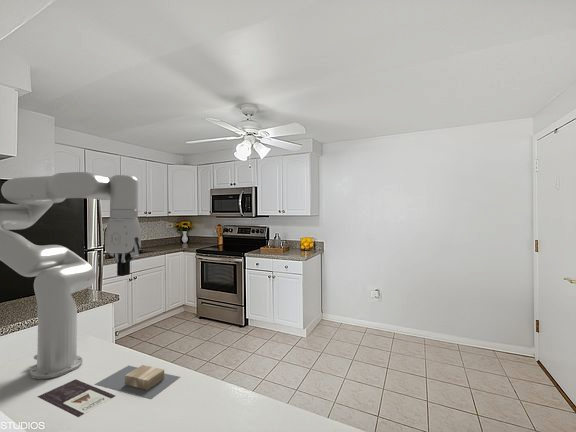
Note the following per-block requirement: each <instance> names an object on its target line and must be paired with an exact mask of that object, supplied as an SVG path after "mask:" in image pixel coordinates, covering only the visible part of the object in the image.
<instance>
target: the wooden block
mask: <svg viewBox="0 0 576 432" xmlns="http://www.w3.org/2000/svg"><path fill="white" fill-rule="evenodd" d="M137 367H138V366H137ZM164 373H165V369H163V368H158V367H155V366H154V367H153V366H150V365H145V364H142V365H140V366H139V367H138V368H137V369H135V370H133V371H132V372H130V373H128V374H126V375H125V385H129V386H133V387H137V388H141V389H145V390H148V389H150V388H151V387H153V386H154V385H156V384H157V383H158V382H160V381H161V380H163V379H164Z"/></svg>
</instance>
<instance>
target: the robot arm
mask: <svg viewBox="0 0 576 432" xmlns="http://www.w3.org/2000/svg"><path fill="white" fill-rule="evenodd" d="M0 188H1V189H0V191H1V194H2V196H3V198H4V199H6V200H7V201H9V202H11V203H0V262H3V263H4V264H5V265H6V266H8V267H9V268H11V269H12V270H13V271H15V272H16V273H17V274H18V275H20V276H23V277H25V278H26V277H27V278H32V277H33V278H34V277H35V278H34V282H33V290H34V294H35V298H36V304H37V354H35V355H34V356H33V360H35V361H36V365H35V366H34V367H32V369H30V373H29V375H30V377H31V378H32V379H36V380H45V379H51V378H52V379H53V378H57V377H60V376H63V375H66V374H68V373H72V372H73V371H75V370H77V369H78V368H79V367H80V366H82V364H83V358H82V356H80V355H77V353H78V352H77V350H78V349H77V348H78V346H77V343H78V342H77V340H78V339H77V336H78V311H77V310H78V308H77V303H76V301H75V299H74V298H73V295H72V294H74V293H76V292H80V291H83V290H86V289H88V288H90V287H92V285H93V284H94V283H95V281H96V277H97V273H96V270H95V269H94V267H93V266H92V265H91V264H90V263H89V262H88V261H86V260H85V259H83V257H80V256H79V255H78V254H77V253H75V252H74V251H72V250H70V249H69V248H68V247H66V246H63V245H60V244H47V245H38V244H34V243H33V242H31V241H30V240H28V239H26V238H25V237H24V236H23V235H21V234H19V233H17V232H14V231H12V230H25V229H28V228H30V227H32V226H34V224H36V222H38V220H39V219H40V218H42V216H44V215H45V213H46V212H47V211H48V210H49V209H50V208H51V207H52V206H53V205H54V204H59V203H62V202H64V201H65V200H66V199H93V200H100V201H109V220H108V221H107V224H106V228H105V237H104V239H105V240H104V249H105V252H107V253H109V256H110V257H113V258H114V259H115V260H114V261H115V263H116V276H117V277H125V276H129V275H130V274H131V262H132V261H133V259H134V258H135V257H139V255H140V250H141V248H142V247H141V246H142V245H141V244H142V237H141V235H142V234H141V227H140V221H139V217H138V216H139V205H138V204H139V181H138V178H136V176H134V175H133V176H132V175H125V174H114V175H112V176H111V177H110V176H106V175H101V174H96V173H92V172H89V171H88V172H86V171H72V172H69V171H68V172H59V173H55V174H53V175H47V176H46V175H45V176H26V177H25V176H24V177H14V178H11V179H8V180H7V181H5V182H4V183H3V184H2V185H1V187H0ZM12 203H13V204H12Z"/></svg>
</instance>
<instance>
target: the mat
mask: <svg viewBox="0 0 576 432" xmlns="http://www.w3.org/2000/svg"><path fill="white" fill-rule="evenodd" d="M137 368H138V366H132V365H129V364H128V365H127V366H125V367H123V368H121V369H120V370H119V369H118V371H116V372H114V373H112V374H111V375H109V376H107V377H106V378H103V379H101V380H99V381H98V382H96V383H94V385H95V386H99V387H103V388H107V389H111V390H115V391H118V392H120V393H121V392H122V393H126V394H128V395H129V394H130V395H134V396H138V397H141V398H146V399H147V400H153V398H156V396H158V395H159V394H160V393H161V392H163V391H164V390H165V389H168V387H170V386H171V385H173V383H175V382H177V380H179V379H180V378H181V376H178V375H173V374H168V373H165V372H164V379H163V380H161V381H160V382H158V383H157V384H156V385H154V386H153V387H151V388H150V389H148V390H145V389H141V388H137V387H133V386H129V385H125V375H126V374H128V373H130V372H132V371H133V370H135V369H137Z"/></svg>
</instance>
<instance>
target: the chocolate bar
mask: <svg viewBox="0 0 576 432" xmlns="http://www.w3.org/2000/svg"><path fill="white" fill-rule="evenodd" d="M37 397H38V398H39V399H41V400H43V401H44V402H47V403H48V404H49V403H50V404H51V405H53V406H55V407H57V408H59V409H62V410H63V411H64V412H68V413H69V414H72V415H73V416H75V417H77V418H79V417H81V416H83V415H85V414H87V413H88V412H90V411H92V410H93V409H95V408H97V407H99V406H101V405H102V404H105V403H106V402H108V401H109V400H111V399H113V398H115V397H116V395H115V394H113V393H110V392H108V391H106V390H103V389H100V388H98V387H95V386H94V385H91V384H88V383H85V382H84V381H81V380H78V379H73V380H71V381H69V382H68V381H67V382H66V383H64V384H62V385H60V386H58V387H55V388H53V389H51V390H49V391H47V392H45V393H42V394H40V395H38V396H37Z"/></svg>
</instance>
